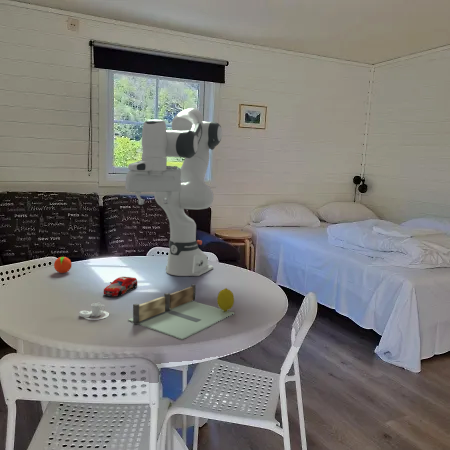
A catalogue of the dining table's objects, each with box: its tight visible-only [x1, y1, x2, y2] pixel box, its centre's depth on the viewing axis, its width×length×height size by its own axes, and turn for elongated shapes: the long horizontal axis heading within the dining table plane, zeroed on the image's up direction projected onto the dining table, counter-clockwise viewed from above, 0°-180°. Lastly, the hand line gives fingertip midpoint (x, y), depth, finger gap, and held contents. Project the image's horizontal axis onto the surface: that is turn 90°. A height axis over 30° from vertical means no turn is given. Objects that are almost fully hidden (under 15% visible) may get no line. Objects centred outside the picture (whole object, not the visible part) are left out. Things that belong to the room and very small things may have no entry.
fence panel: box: [169, 283, 197, 309], centre depth 148 cm, size 13×2×5 cm, turn 145°
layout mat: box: [127, 300, 235, 341], centre depth 138 cm, size 26×22×1 cm
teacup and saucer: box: [78, 302, 110, 321], centre depth 138 cm, size 9×8×4 cm
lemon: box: [216, 287, 235, 312], centre depth 143 cm, size 6×6×8 cm
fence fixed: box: [132, 292, 171, 325], centre depth 136 cm, size 15×2×6 cm, turn 145°
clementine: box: [53, 256, 73, 274], centre depth 182 cm, size 8×7×7 cm
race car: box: [103, 276, 138, 298], centre depth 162 cm, size 16×7×5 cm, turn 158°
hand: (153, 204), depth 157 cm, fingers open, 8 cm apart
